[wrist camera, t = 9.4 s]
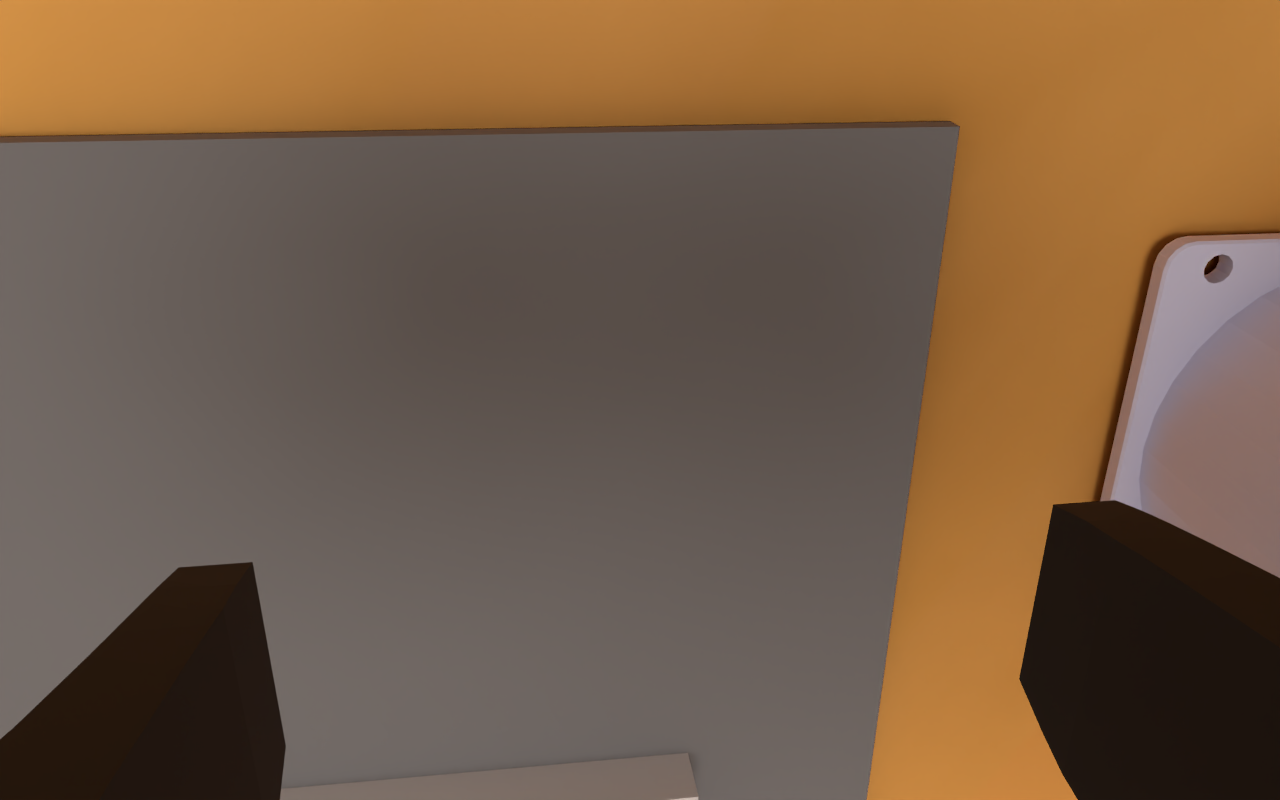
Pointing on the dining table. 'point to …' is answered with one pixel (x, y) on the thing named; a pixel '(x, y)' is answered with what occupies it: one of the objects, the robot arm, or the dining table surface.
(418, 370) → the mat
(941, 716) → the dining table surface
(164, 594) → the robot arm
